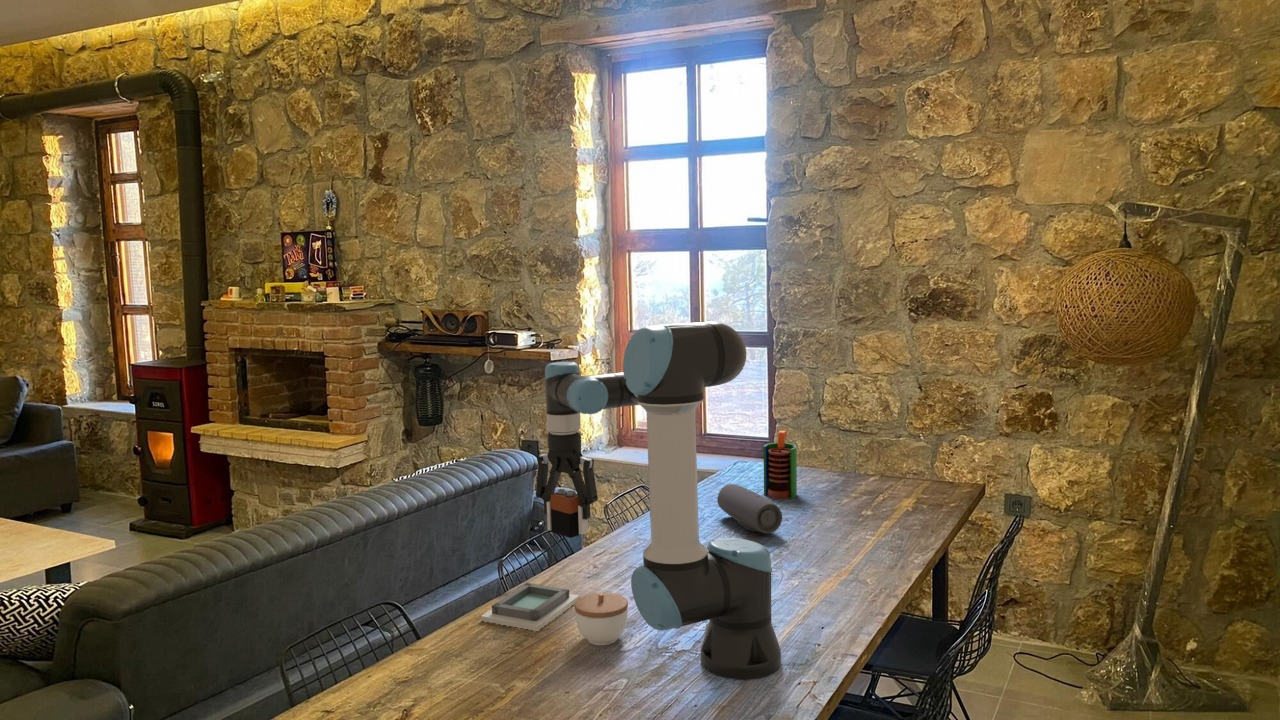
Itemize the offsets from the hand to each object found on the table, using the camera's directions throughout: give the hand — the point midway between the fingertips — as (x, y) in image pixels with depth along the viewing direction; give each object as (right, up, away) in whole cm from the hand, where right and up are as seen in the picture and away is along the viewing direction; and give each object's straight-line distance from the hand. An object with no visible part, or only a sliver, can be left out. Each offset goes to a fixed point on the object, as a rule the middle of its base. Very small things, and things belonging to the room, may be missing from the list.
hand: (567, 530), depth 207 cm
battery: (0, -1, 0) cm, 1 cm away
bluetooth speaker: (+47, -8, +49) cm, 68 cm away
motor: (+60, -4, +79) cm, 100 cm away
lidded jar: (+9, -18, -22) cm, 30 cm away
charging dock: (-7, -16, -7) cm, 19 cm away
